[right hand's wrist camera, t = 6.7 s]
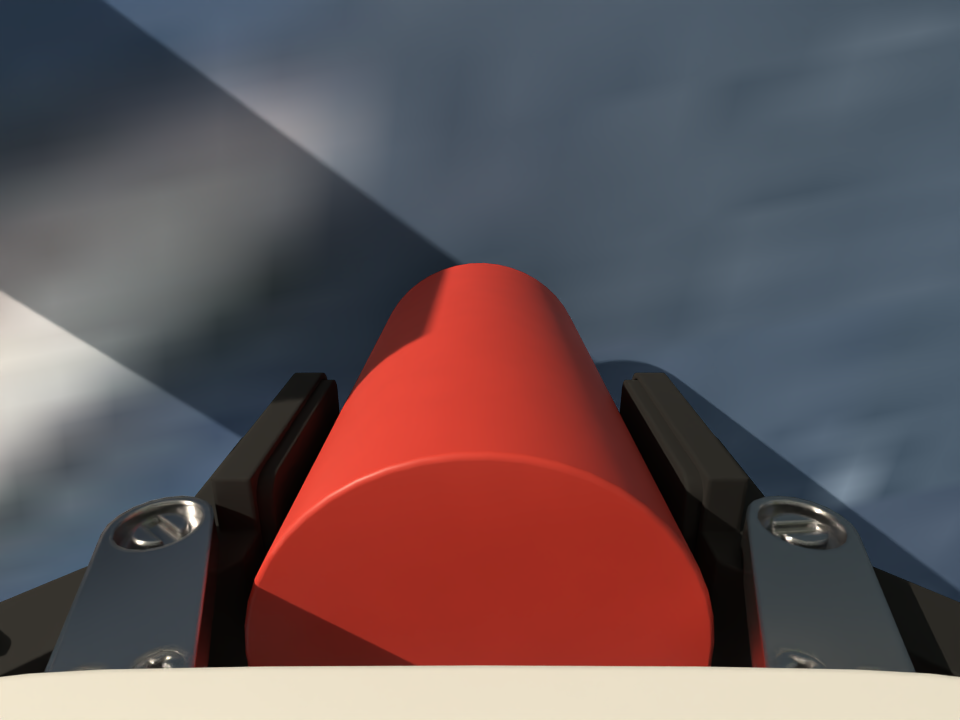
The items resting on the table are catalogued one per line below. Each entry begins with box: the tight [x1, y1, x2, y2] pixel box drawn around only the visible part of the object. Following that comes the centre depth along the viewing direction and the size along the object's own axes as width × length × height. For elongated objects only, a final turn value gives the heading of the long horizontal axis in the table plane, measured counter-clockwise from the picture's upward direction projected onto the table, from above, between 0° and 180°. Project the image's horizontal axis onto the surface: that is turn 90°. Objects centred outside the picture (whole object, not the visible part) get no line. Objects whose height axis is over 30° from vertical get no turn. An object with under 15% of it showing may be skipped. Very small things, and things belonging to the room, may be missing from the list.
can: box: [245, 263, 714, 667], centre depth 12 cm, size 6×5×10 cm
